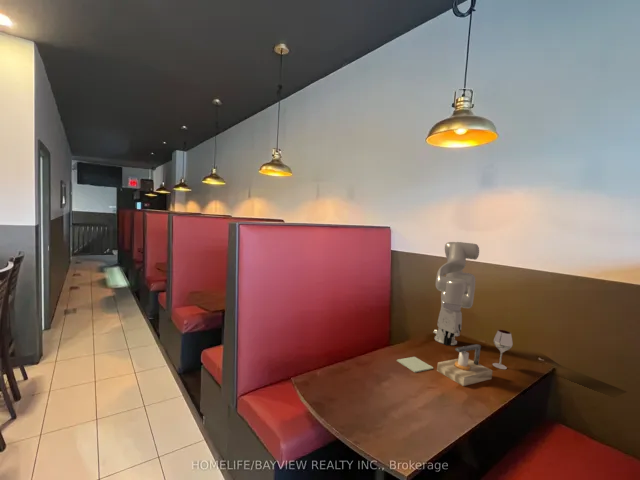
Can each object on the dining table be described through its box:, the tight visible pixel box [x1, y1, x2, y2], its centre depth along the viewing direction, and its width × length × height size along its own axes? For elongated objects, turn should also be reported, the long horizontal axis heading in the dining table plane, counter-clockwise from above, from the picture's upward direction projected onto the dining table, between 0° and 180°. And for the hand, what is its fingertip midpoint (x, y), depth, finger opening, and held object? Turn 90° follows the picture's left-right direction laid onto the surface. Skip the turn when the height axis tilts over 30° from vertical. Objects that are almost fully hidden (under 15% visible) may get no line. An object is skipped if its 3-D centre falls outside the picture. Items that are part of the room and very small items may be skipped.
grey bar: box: [454, 344, 482, 365], centre depth 143 cm, size 16×2×9 cm, turn 119°
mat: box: [396, 356, 434, 373], centre depth 148 cm, size 12×12×1 cm
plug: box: [455, 351, 470, 370], centre depth 142 cm, size 6×6×11 cm
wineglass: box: [492, 329, 513, 370], centre depth 156 cm, size 8×8×18 cm
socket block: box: [436, 358, 494, 387], centre depth 143 cm, size 14×20×4 cm
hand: (447, 344), depth 145 cm, fingers closed
